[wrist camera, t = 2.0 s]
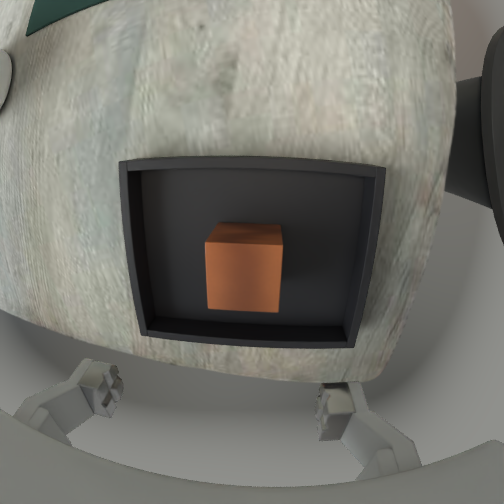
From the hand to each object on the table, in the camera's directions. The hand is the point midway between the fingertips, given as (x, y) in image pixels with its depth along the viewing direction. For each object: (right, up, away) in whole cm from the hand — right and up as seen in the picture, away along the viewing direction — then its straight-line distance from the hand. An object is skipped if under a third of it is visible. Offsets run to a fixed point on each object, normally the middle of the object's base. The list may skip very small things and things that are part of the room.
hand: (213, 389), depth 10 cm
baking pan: (+1, +5, +14) cm, 15 cm away
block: (+1, +5, +14) cm, 15 cm away
